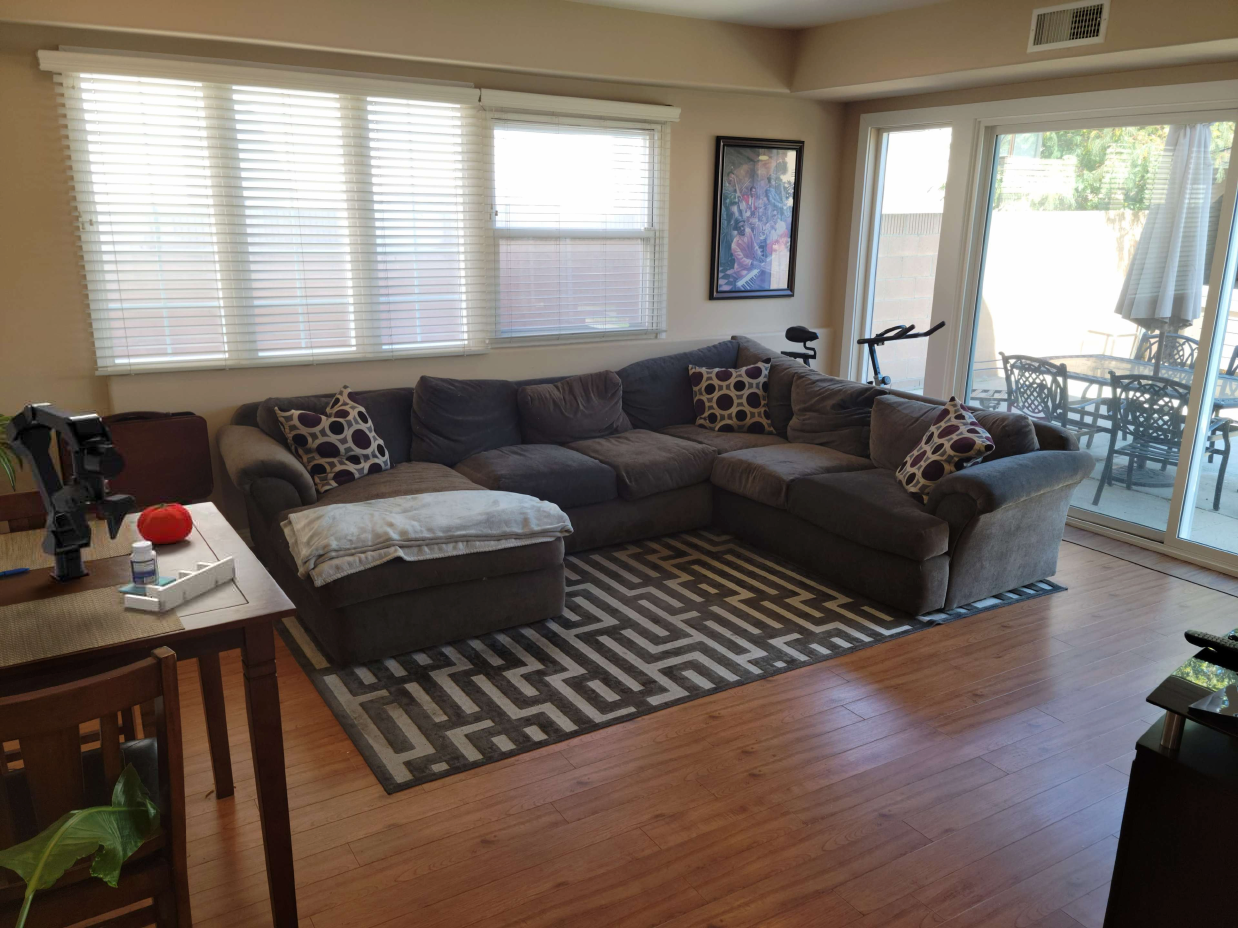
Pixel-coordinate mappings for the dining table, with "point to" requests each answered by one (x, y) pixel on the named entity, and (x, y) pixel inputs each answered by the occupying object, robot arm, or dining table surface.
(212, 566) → the lane rack
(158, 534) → the tomato
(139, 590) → the teal mat
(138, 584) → the pill bottle
